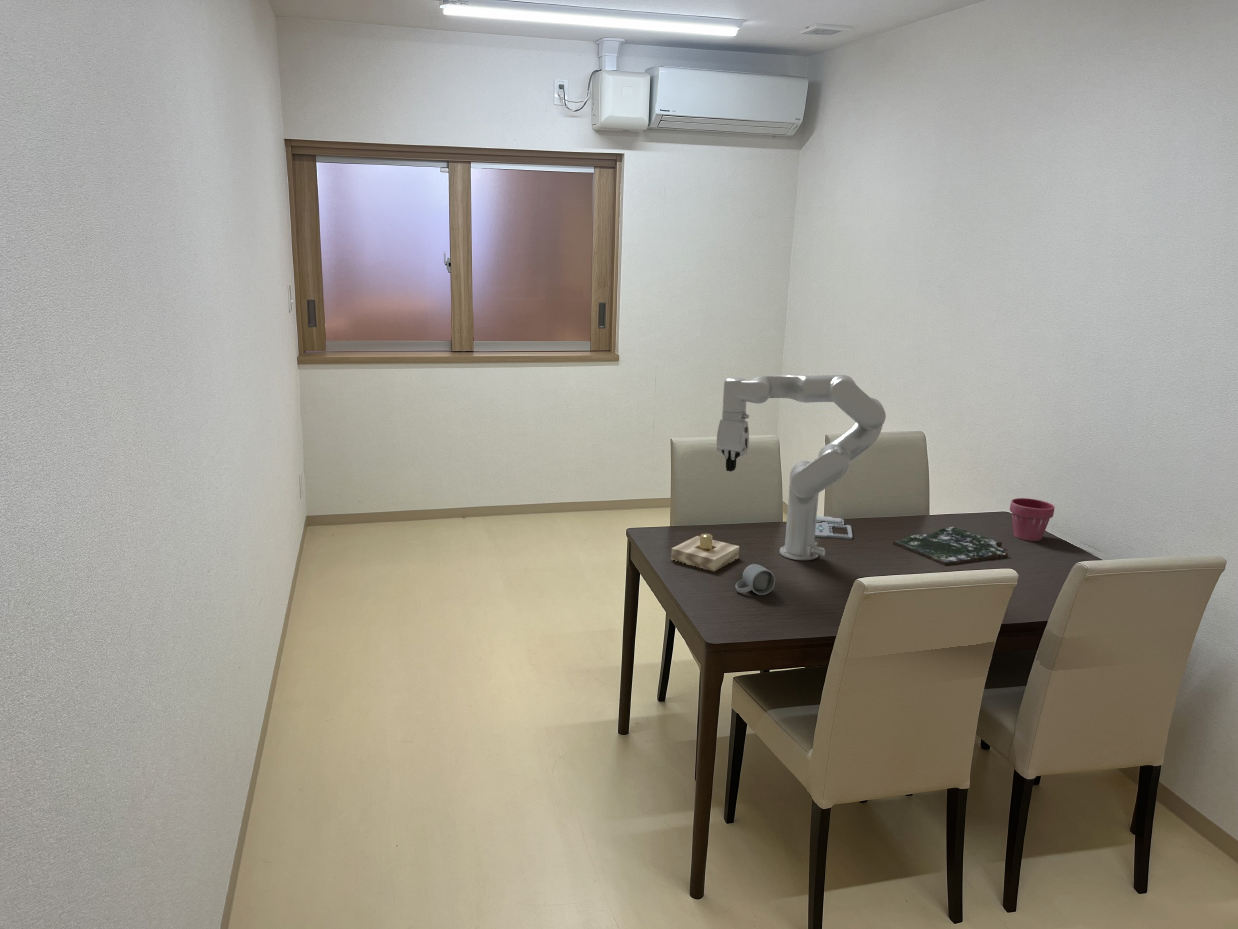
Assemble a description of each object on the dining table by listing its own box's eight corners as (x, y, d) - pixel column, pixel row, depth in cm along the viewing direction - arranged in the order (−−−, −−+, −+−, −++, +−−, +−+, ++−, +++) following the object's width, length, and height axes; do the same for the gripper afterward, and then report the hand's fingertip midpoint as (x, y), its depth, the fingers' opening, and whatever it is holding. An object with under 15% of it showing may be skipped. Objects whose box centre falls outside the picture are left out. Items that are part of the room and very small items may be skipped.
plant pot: (1037, 531, 316) (1042, 497, 313) (1057, 544, 303) (1062, 509, 299) (999, 530, 316) (1003, 497, 313) (1017, 543, 302) (1022, 508, 299)
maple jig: (738, 557, 281) (739, 546, 280) (714, 571, 269) (714, 559, 268) (696, 547, 290) (697, 535, 289) (671, 560, 278) (671, 548, 277)
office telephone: (795, 511, 326) (849, 515, 323) (795, 518, 327) (849, 522, 323) (795, 529, 304) (853, 534, 300) (794, 536, 305) (852, 541, 301)
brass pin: (713, 558, 280) (714, 535, 278) (707, 562, 277) (708, 538, 275) (703, 555, 282) (704, 532, 280) (696, 559, 279) (697, 535, 277)
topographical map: (892, 545, 298) (893, 537, 297) (957, 532, 314) (958, 525, 313) (952, 570, 276) (953, 561, 276) (1019, 555, 292) (1021, 547, 291)
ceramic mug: (762, 583, 260) (763, 559, 258) (774, 593, 253) (776, 569, 251) (730, 587, 257) (731, 563, 255) (742, 598, 249) (743, 573, 248)
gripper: (759, 417, 278) (756, 472, 282) (719, 411, 286) (716, 464, 291) (748, 420, 272) (745, 476, 277) (708, 414, 280) (705, 468, 285)
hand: (730, 470), depth 284 cm, fingers closed
